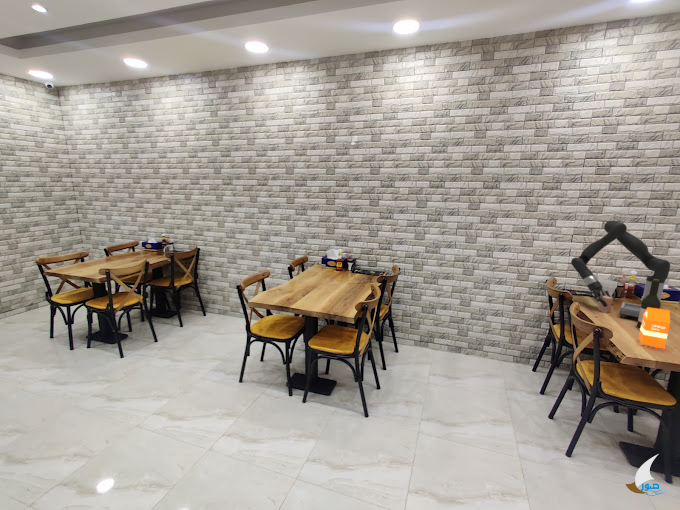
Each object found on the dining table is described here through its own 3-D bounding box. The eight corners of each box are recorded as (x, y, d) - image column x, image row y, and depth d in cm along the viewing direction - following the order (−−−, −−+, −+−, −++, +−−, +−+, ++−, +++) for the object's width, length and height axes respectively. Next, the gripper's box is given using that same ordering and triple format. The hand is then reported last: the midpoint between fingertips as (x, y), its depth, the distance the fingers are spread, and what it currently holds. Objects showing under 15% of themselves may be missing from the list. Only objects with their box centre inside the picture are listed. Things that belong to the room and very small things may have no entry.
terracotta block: (598, 310, 218) (600, 296, 216) (602, 309, 220) (605, 295, 218) (605, 313, 214) (608, 298, 212) (610, 312, 216) (613, 297, 214)
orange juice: (664, 349, 166) (672, 312, 162) (641, 345, 170) (649, 309, 166) (659, 343, 172) (667, 308, 168) (637, 339, 177) (645, 304, 173)
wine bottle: (650, 326, 193) (661, 278, 187) (658, 332, 186) (670, 282, 179) (633, 324, 196) (643, 276, 190) (640, 330, 188) (651, 280, 182)
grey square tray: (621, 311, 216) (623, 302, 215) (649, 317, 207) (652, 307, 205) (618, 317, 207) (620, 307, 205) (648, 324, 197) (651, 313, 195)
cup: (596, 300, 239) (599, 282, 236) (591, 295, 250) (594, 278, 247) (617, 302, 234) (620, 284, 231) (610, 297, 245) (614, 279, 242)
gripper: (590, 281, 218) (606, 304, 209) (604, 279, 222) (621, 302, 214) (580, 286, 223) (596, 309, 215) (594, 284, 228) (610, 307, 220)
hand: (608, 305), depth 214 cm, fingers closed on terracotta block, 4 cm apart
